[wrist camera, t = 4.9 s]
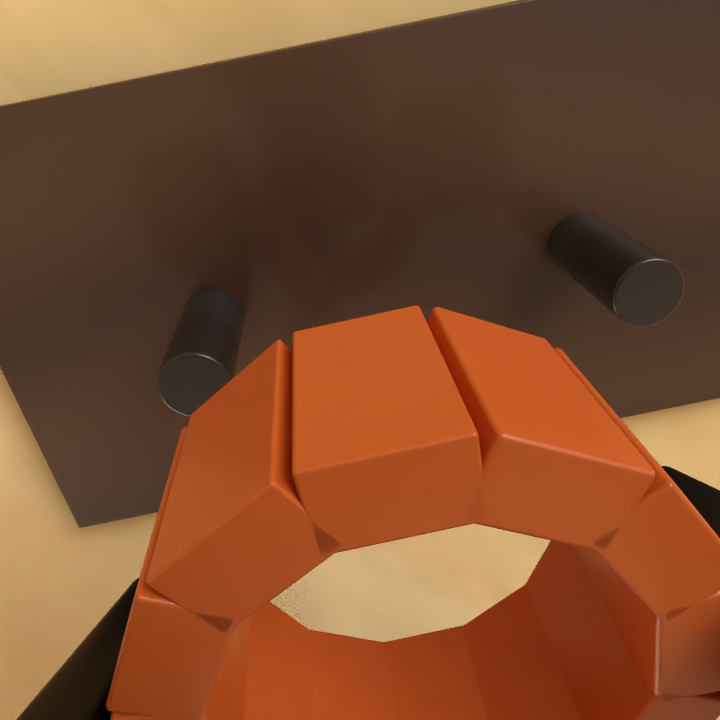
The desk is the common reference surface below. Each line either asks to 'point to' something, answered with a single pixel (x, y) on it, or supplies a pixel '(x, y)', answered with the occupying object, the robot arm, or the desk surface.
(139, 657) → the ring
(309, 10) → the desk surface
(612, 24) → the peg board
